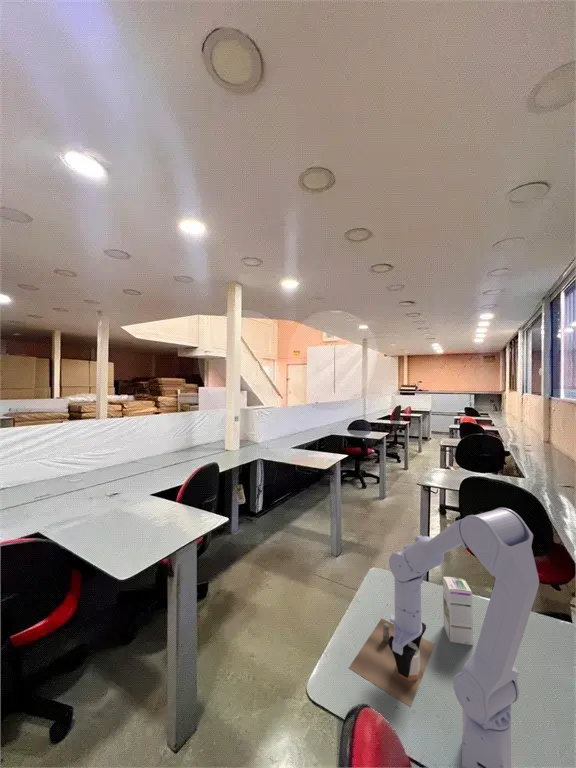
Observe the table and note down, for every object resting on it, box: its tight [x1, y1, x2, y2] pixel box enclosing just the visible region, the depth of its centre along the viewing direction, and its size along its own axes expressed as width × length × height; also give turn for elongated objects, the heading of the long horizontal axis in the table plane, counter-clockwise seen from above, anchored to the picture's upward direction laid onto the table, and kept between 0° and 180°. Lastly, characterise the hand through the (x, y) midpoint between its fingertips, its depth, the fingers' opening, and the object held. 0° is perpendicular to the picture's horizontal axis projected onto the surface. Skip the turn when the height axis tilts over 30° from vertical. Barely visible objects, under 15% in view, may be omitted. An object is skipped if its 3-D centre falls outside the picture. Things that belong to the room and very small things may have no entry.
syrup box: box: [442, 576, 474, 646], centre depth 81 cm, size 6×6×14 cm
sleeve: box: [396, 642, 420, 681], centre depth 71 cm, size 5×5×5 cm
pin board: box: [348, 618, 436, 708], centre depth 75 cm, size 20×14×5 cm
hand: (407, 664), depth 71 cm, fingers open, 6 cm apart
